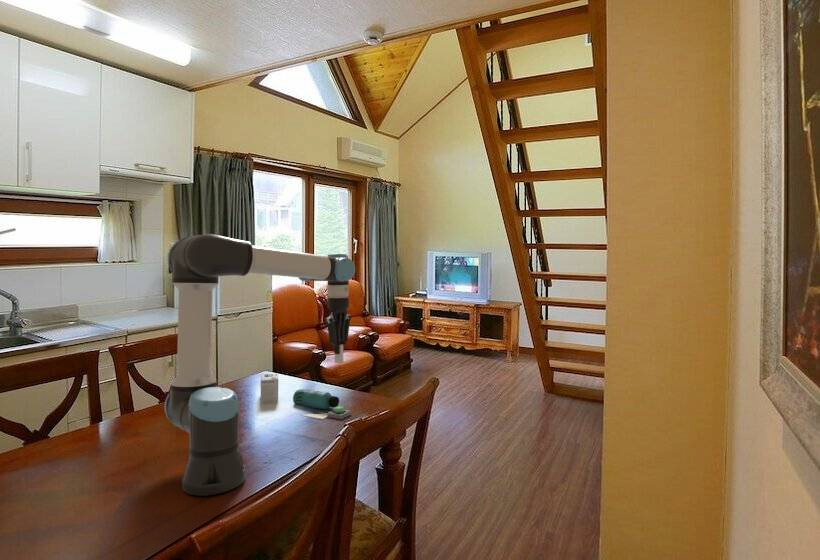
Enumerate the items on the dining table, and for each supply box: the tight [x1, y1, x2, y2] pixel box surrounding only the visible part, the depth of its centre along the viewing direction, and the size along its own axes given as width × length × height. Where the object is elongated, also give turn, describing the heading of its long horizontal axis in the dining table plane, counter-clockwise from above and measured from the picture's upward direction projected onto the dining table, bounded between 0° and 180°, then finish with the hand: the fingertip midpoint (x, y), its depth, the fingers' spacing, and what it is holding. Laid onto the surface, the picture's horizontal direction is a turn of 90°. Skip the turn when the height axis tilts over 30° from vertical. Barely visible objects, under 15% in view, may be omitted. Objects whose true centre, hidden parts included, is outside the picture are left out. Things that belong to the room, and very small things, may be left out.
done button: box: [333, 405, 345, 413], centre depth 164 cm, size 3×3×2 cm
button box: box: [327, 409, 352, 420], centre depth 164 cm, size 6×6×2 cm
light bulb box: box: [260, 373, 279, 404], centre depth 180 cm, size 11×7×11 cm, turn 17°
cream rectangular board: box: [302, 413, 328, 420], centre depth 170 cm, size 16×12×1 cm
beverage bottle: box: [292, 388, 340, 411], centre depth 173 cm, size 6×7×20 cm
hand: (339, 362), depth 164 cm, fingers closed
